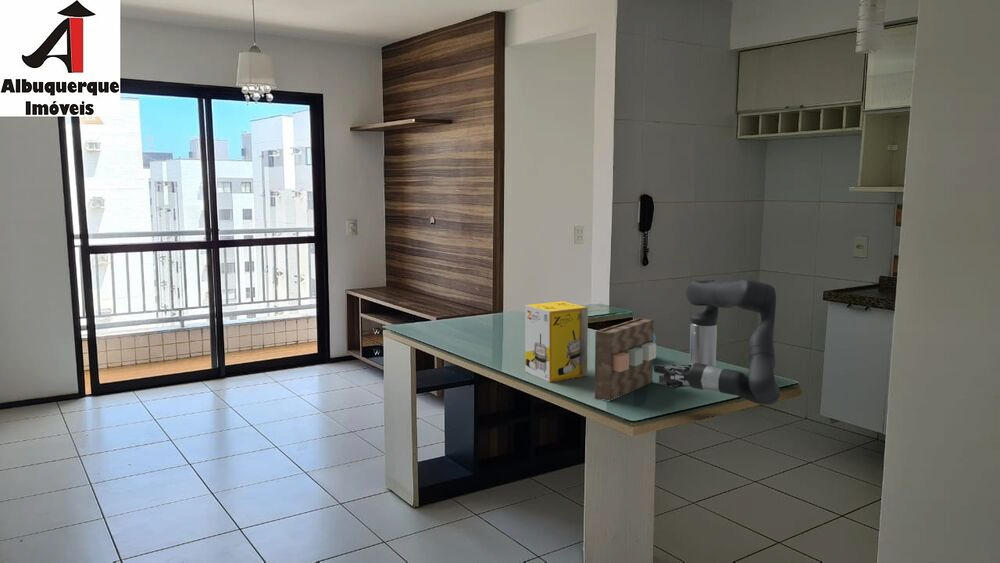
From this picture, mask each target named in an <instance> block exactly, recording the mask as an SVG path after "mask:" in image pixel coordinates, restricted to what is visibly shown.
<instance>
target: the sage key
mask: <svg viewBox="0 0 1000 563" xmlns="http://www.w3.org/2000/svg"><path fill="white" fill-rule="evenodd" d="M628 353H629V365H631V366H637V365H640V364H642V363H643V348H637V347H632V348H629V349H628Z"/></svg>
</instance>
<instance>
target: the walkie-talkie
mask: <svg viewBox="0 0 1000 563" xmlns="http://www.w3.org/2000/svg"><path fill="white" fill-rule="evenodd" d="M658 383H659V384H661V383H662V385H664V386H666V385H667V386H666V387H669V386H672V387H676V386H677V385H678V386H689V387H691V386H690V385H689V382H688V381H685V382H683V381H679V380H677V379H675V381H674V382H672V381H670V380H668V379H667V378H665V377H664V374H661V375H659V376H658Z"/></svg>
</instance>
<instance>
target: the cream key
mask: <svg viewBox="0 0 1000 563" xmlns="http://www.w3.org/2000/svg"><path fill="white" fill-rule="evenodd" d="M642 348H643V360H647V361H649V360H652V359H653V360H654V359H656V358H657V351H656V350H657V343H650V342H646V343H643V344H642Z"/></svg>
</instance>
